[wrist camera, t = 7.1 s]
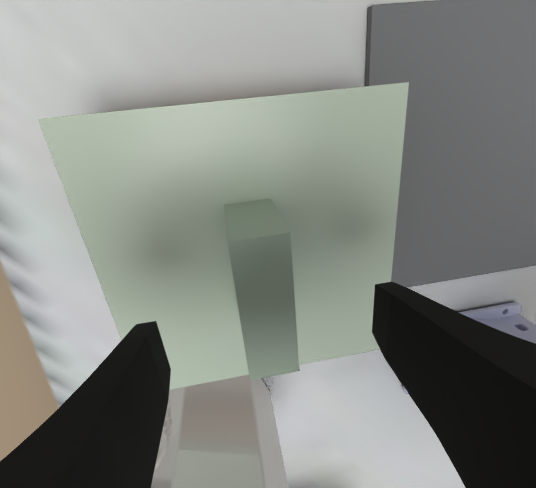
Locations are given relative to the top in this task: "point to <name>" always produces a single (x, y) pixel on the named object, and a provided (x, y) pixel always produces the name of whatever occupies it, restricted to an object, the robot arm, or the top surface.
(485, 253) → the mat
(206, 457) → the jar
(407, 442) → the top surface
